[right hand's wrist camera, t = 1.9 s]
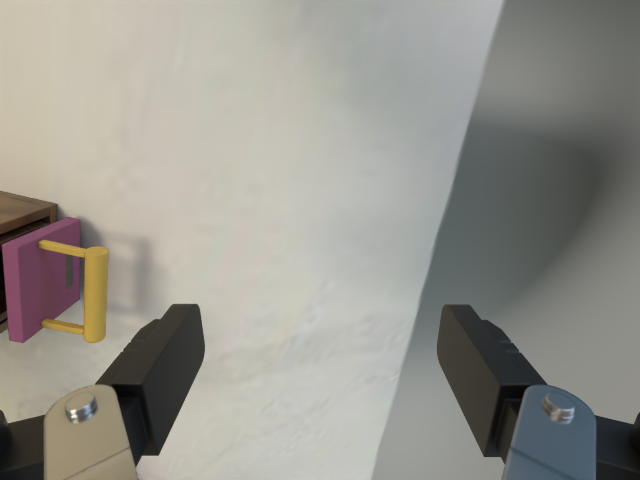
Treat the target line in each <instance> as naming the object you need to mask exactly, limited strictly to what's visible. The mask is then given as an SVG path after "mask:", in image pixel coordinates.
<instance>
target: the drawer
mask: <svg viewBox="0 0 640 480" xmlns="http://www.w3.org/2000/svg"><path fill="white" fill-rule="evenodd" d="M108 254H109V251H108V249H106V248H104V247H90V248H87V249H84V248H80V220H79V219H75V218H71V217H67V218H64V219H62V220H60V221H57V222H55V223H52V224H50V225H49V223H48V222H44V221H39V220H37V221H34V222H32V223H29V224H27V225H24V226H21V227H19V228H16V229H14V230H11V231H8V232H6V233H3V234H0V321H2V320H4V319H5V318H7V317H8V330H9V340H10V341H15V342H20V343H24V342H25V341H27V340H28V339H29V338H30V337H32V336H33V335H34V334H36V333H37V332H38V331H39V330H41V329H42V328H43V327H45V328H50V329H55V330H60V331H65V332H70V333H75V334H80V335H84V340H85V341H86V342H89V343H96V342H100V341H102V340H103V339H104V338H105V332H106V306H107V280H108ZM80 257H83V258H85V287H84V326H81V325H76V324H71V323H66V322H61V321H56V320H53V319H55V318H56V317H57V316H59V315H60V314H61V313H62V312H64V311H65V310H66V309H68V308H69V307H70V306H71V305H73V304H74V303H75V302H77V301H78V300H79V299H80Z"/></svg>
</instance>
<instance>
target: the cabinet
mask: <svg viewBox="0 0 640 480" xmlns="http://www.w3.org/2000/svg"><path fill="white" fill-rule="evenodd" d="M37 220H39V221H44V222H48V223H49V225H50V224H52V223H55V222H57V204H55V203H50V202H46V201H42V200H37V199H33V198H29V197H24V196H20V195H15V194H11V193H7V192H2V191H0V234H3V233H6V232H8V231H11V230H14V229H16V228H19V227H21V226H24V225H27V224H29V223H32V222H34V221H37ZM6 329H8V317H7V318H5V319H4V320H2V321H0V334H1V333H2V332H3V331H5V330H6Z"/></svg>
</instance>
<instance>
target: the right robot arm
mask: <svg viewBox="0 0 640 480" xmlns="http://www.w3.org/2000/svg"><path fill="white" fill-rule="evenodd" d="M204 352H205V342H204V335H203V328H202V321H201V314H200V308H199V306H198V305H197V304H173V305H171V307H170V308H169V309H168V310H167V312H166V313H165V314H164V316H163V317H162V318H161V319H155V320H153V321H152V322H150V323H149V324H147V325H146V326H144V327H143V328H141V329H140V330H139V332H138V333H137V334H136V335H135V336H134V338H133V339H132V340H131V342H129V344H128V345H127V346H126V347H125V348H124V351H123V352H121V353H120V354H119V356H118V357H117V358H116V359H115V360H114V362H113V363H112V364H111V365H110V366H109V368H108V369H107V370H106V371H105V373H104V374H103V375H102V376H101V377H100V379H99V380H98V381H97V382H96V383H95V385H90V386H86V387H83V388H80V389H77V390H75V391H73V392H71V393H69V394H67V395H65V396H64V397H62V398H61V399H60V400H58V401H57V402H56V403H55V404H54V405H53V406H52V407H51V408H50V409H49V410H48V412H47V413H46V415H42V416H38V417H34V418H30V419H25V420H21V421H17V422H13V423H7V420H6V418H5V416H4V413H3V412H2V411H1V410H0V480H139V479H138V475H137V471H136V466H137V464H138V462H139V460H140V458H141V457H142V456H159V454H160V452H161V449H162V447H163V445H164V443H165V441H166V439H167V437H168V435H169V432H170V430H171V428H172V426H173V424H174V422H175V420H176V418H177V415H178V413H179V411H180V409H181V407H182V405H183V403H184V401H185V398H186V396H187V394H188V392H189V390H190V388H191V386H192V384H193V381H194V379H195V377H196V375H197V373H198V371H199V369H200V367H201V364H202V362H203V358H204ZM437 355H438V360H439V363H440V365H441V368H442V370H443V372H444V374H445V376H446V378H447V380H448V382H449V384H450V386H451V389H452V391H453V393H454V395H455V397H456V399H457V401H458V403H459V405H460V407H461V410H462V412H463V414H464V416H465V418H466V420H467V422H468V424H469V426H470V429H471V431H472V433H473V435H474V437H475V439H476V441H477V443H478V445H479V447H480V449H481V452H482V454H483V456H484V457H501V458H502V460H503V462H504V464H505V467H504V471H503V475H502V479H501V480H640V413H639V414H638V416H637V418H636V420H635V423H634V425H633V424H629V423H625V422H620V421H616V420H612V419H608V418H604V417H599V416H596V415H594V413H593V412H592V410H591V409H590V408H589V407H588V406H587V405H586V404H585V403H584V402H583V401H582V400H580V399H579V398H578V397H576V396H574V395H573V394H571V393H569V392H567V391H565V390H563V389H560V388H557V387H554V386H550V385H547V383H546V382H545V381H544V380H543V379H542V377H541V376H540V375H539V374H538V373H537V371H536V370H535V369H534V368H533V367H532V365H531V364H530V363H529V362H528V361H527V360H526V358H525V357H524V356H523V355H522V353H519V350H518V349H517V347H516V346H515V345H514V344H513V343H511V340H510V339H509V338H508V337H507V336H506V334H505V333H504V332H503V331H502V330H501V329H500V328H498V327H497V326H495V325H494V324H492V323H491V322H489V321H488V320H481V319H480V317H479V316H478V315H477V314H476V312H475V311H474V310H473V308H472V307H471V306H470V305H444V306H443V309H442V313H441V320H440V327H439V334H438V341H437Z"/></svg>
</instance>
